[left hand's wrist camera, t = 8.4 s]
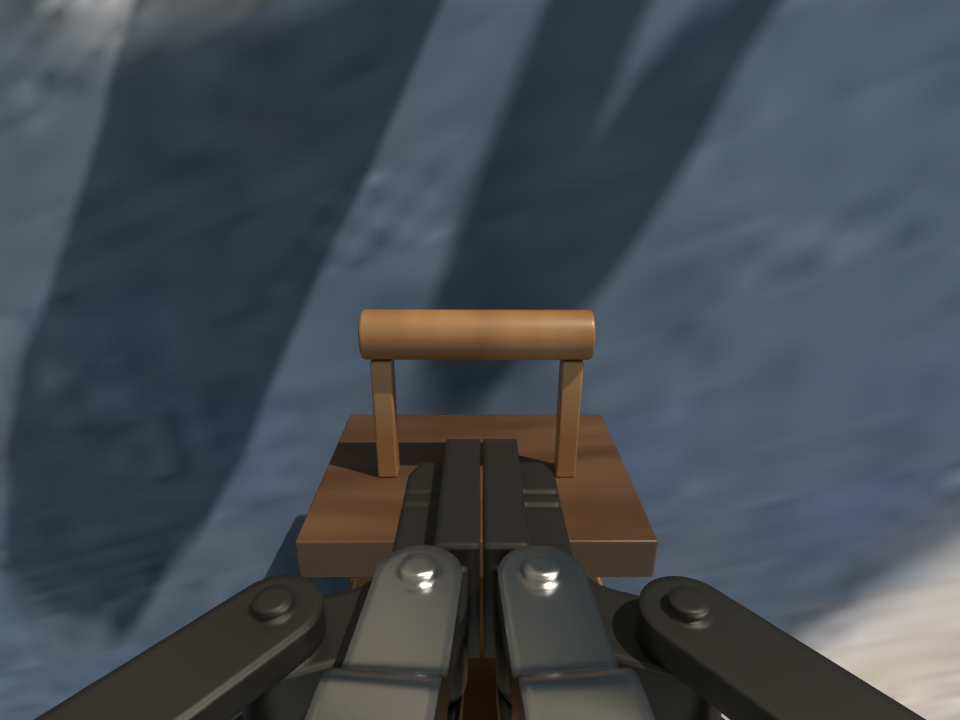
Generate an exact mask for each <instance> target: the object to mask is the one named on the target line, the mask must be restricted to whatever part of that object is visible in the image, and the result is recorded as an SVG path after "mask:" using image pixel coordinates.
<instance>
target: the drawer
mask: <svg viewBox="0 0 960 720" xmlns="http://www.w3.org/2000/svg"><path fill="white" fill-rule="evenodd" d="M358 341H359V350H360V353H361V356H362V358H363V359H366V360H371V362H370V368H371V382H372V397H373V411H374V415H350V417H349V419H348V422H347V424H346V426H345V429H344V431H343V433H342V435H341V438H340V440H339V442H338V445H337V447H336V449H335V452H334V454H333V456H332V458H331V461H330V463H329V465H328V468H327V470H326V472H325V475H324V477H323V479H322V481H321V484H320V486H319V488H318V491H317V493H316V495H315V497H314V500H313V502H312V504H311V507H310V509H309V511H308V514H307V516H306V518H305V520H304V523H303V525H302V527H301V530H300V532H299V534H298V537H297V539H296V541H295V545H296V552H297V559H298V567H299V574H300V576H302V577H305V578H355V580H354V584H353V587H352V589H355V588H357V587H360V586H362V585H364V584H366V583H368V582H370V581H371V580H373V577H374V574H375V571H376V569H377V567H378V565H379V564H380V563H381V561H382V560H383V559H384V558H386V557H387V556H388V555H390V554H391V553H392V550H393V545H394V541H395V536H396V531H397V526H398V522H399V517H400V512H401V508H402V503H403V498H404V494H405V489H406V484H407V480H408V475H409V474H410V473H411V472H412V471H413V470H414V469H415V468H416V467H417V466H418V465H419V464H420V463H421V462H444V455H445V446H446V439H480V658H468V679H467V685H466V688H465V690H464V707H463V716H462V720H498V716H497V707H496V658H484V617H483V439H517V446H518V454H519V462H542V463H543V464H544V465H545V466H546V467H547V468H548V469H549V470H550V471H551V472H552V473H553V474H554V475H555V479H556V484H557V488H558V494H559V497H560V502H561V507H562V511H563V515H564V519H565V524H566V528H567V533H568V537H569V542H570V546H571V551H572V555H573V557H574V558H576V559H577V560H578V561H579V563H580V564H581V565H582V567H583V569H584V571H585V574H586V576H587V577H589V578H590V579H592V580H593V581H595V582H597V583H598V584H599V581H598V577H652V576H653V572H654V566H655V559H656V552H657V545H658V541H657V538H656V536H655V534H654V531H653V529H652V527H651V525H650V522H649V520H648V518H647V516H646V513H645V511H644V509H643V507H642V504H641V502H640V500H639V498H638V495H637V493H636V491H635V489H634V486H633V484H632V482H631V480H630V477H629V475H628V473H627V470H626V468H625V466H624V464H623V461H622V459H621V457H620V455H619V452H618V450H617V448H616V446H615V443H614V441H613V439H612V437H611V434H610V432H609V430H608V428H607V425H606V423H605V421H604V419H603V416H602V415H580V406H581V393H582V380H583V367H584V363H583V360H589V359H591V358H592V356H593V354H594V350H595V342H596V326H595V319H594V315H593V312H592V311H590V310H422V309H365V310H363V311H362V312H361V315H360V318H359V326H358ZM394 360H560V367H559V384H558V401H557V415H397V409H396V390H395V371H394Z"/></svg>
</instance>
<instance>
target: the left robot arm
mask: <svg viewBox="0 0 960 720" xmlns="http://www.w3.org/2000/svg"><path fill="white" fill-rule="evenodd" d="M483 617H484V658H496V707H497V716H498V720H725V719H724V718H722V717H721V714H722V713H723V714H724V715H725V716H726V717H728V718H729V719H730V720H926V719H924V718H922V717H921V716H919V715H918V714H916V713H914V712H913V711H911V710H910V709H908V708H906V707H905V706H903V705H902V704H900V703H898V702H897V701H895V700H893V699H892V698H890V697H889V696H887V695H885V694H884V693H882V692H881V691H879V690H877V689H876V688H874V687H873V686H871V685H869V684H868V683H866V682H864V681H863V680H861V679H860V678H858V677H856V676H855V675H853V674H852V673H850V672H848V671H847V670H845V669H844V668H842V667H840V666H839V665H837V664H835V663H834V662H832V661H831V660H829V659H827V658H826V657H824V656H823V655H821V654H819V653H818V652H816V651H815V650H813V649H811V648H810V647H808V646H807V645H805V644H803V643H802V642H800V641H798V640H797V639H795V638H794V637H792V636H790V635H789V634H787V633H786V632H784V631H782V630H781V629H779V628H778V627H776V626H774V625H773V624H771V623H769V622H768V621H766V620H765V619H763V618H761V617H760V616H758V615H757V614H755V613H753V612H752V611H750V610H749V609H747V608H745V607H744V606H742V605H740V604H739V603H737V602H736V601H734V600H732V599H731V598H729V597H728V596H726V595H724V594H723V593H721V592H720V591H718V590H716V589H715V588H713V587H711V586H709V585H707V584H705V583H703V582H701V581H698V580H695V579H691V578H686V577H679V576H667V577H661V578H658V579H655V580H653V581H651V582H649V583H648V584H647V585H646V586H645V587H644V588H643V589H642V591H641V593H640V596H638V595H633V594H629V593H625V592H621V591H617V590H614V589H610V588H607V587H605V586H603V585H600V584H598V583H597V582H595V581H593V580H592V579H590V578H589V577H587V576H586V574H585V571H584V569H583V567H582V565H581V564H580V563H579V561H578V560H577V559H576V558H574V557H573V555H572V551H571V546H570V542H569V537H568V533H567V528H566V524H565V519H564V515H563V511H562V507H561V502H560V497H559V494H558V488H557V484H556V479H555V475H554V474H553V473H552V472H551V471H550V470H549V469H548V468H547V467H546V466H545V465H544V464H543V463H542V462H519V454H518V446H517V439H483ZM468 658H480V439H446V446H445V455H444V462H421V463H420V464H419V465H418V466H417V467H416V468H415V469H414V470H413V471H412V472H411V473H410V474H409V475H408V480H407V484H406V489H405V494H404V498H403V503H402V508H401V512H400V517H399V522H398V526H397V531H396V536H395V541H394V545H393V550H392V553H391V554H390V555H388V556H387V557H386V558H384V559H383V560H382V561H381V563H380V564H379V565H378V567H377V569H376V571H375V574H374V577H373V580H371V581H370V582H368V583H366V584H364V585H362V586H360V587H357V588H355V589H351V590H348V591H344V592H340V593H336V594H332V595H328V596H323V595H322V592H321V589H320V588H319V586H318V585H317V584H316V583H315V582H313V581H312V580H310V579H308V578H305V577H302V576H297V575H279V576H274V577H270V578H266V579H263V580H261V581H258V582H256V583H254V584H252V585H250V586H249V587H247V588H245V589H244V590H242V591H240V592H239V593H237V594H236V595H234V596H232V597H231V598H229V599H228V600H226V601H224V602H223V603H221V604H220V605H218V606H216V607H215V608H213V609H211V610H210V611H208V612H207V613H205V614H203V615H202V616H200V617H199V618H197V619H195V620H194V621H192V622H191V623H189V624H187V625H186V626H184V627H183V628H181V629H179V630H178V631H176V632H174V633H173V634H171V635H170V636H168V637H166V638H165V639H163V640H162V641H160V642H158V643H157V644H155V645H154V646H152V647H150V648H149V649H147V650H145V651H144V652H142V653H141V654H139V655H137V656H136V657H134V658H133V659H131V660H129V661H128V662H126V663H125V664H123V665H121V666H120V667H118V668H116V669H115V670H113V671H112V672H110V673H108V674H107V675H105V676H104V677H102V678H100V679H99V680H97V681H96V682H94V683H92V684H91V685H89V686H87V687H86V688H84V689H83V690H81V691H79V692H78V693H76V694H75V695H73V696H71V697H70V698H68V699H67V700H65V701H63V702H62V703H60V704H58V705H57V706H55V707H54V708H52V709H50V710H49V711H47V712H46V713H44V714H42V715H41V716H39V717H38V718H36V719H34V720H230V719H231V718H232V717H234V716H235V715H236V714H238V713H239V712H240V711H241V710H242V712H243V714H242V715H240V716H239V717H238V718H236V719H235V720H462V716H463V707H464V690H465V688H466V685H467V679H468Z"/></svg>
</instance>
